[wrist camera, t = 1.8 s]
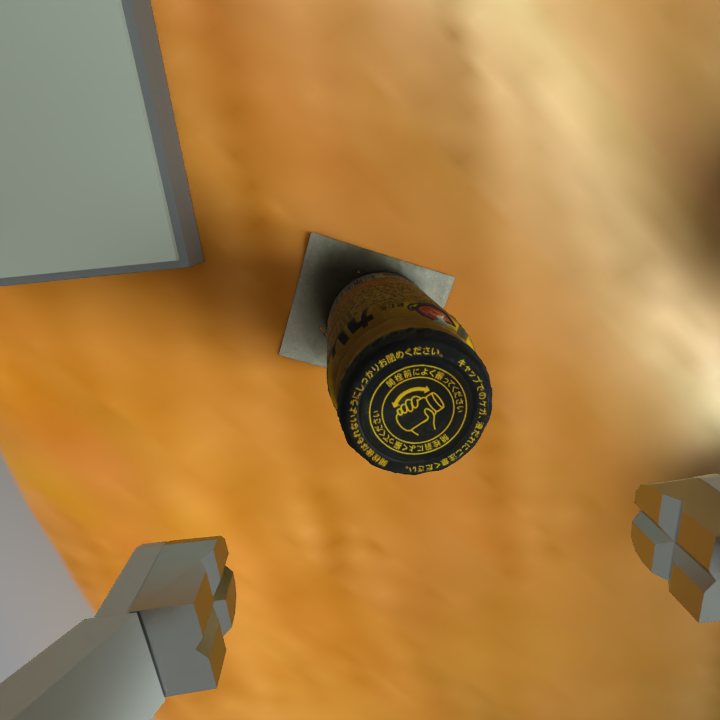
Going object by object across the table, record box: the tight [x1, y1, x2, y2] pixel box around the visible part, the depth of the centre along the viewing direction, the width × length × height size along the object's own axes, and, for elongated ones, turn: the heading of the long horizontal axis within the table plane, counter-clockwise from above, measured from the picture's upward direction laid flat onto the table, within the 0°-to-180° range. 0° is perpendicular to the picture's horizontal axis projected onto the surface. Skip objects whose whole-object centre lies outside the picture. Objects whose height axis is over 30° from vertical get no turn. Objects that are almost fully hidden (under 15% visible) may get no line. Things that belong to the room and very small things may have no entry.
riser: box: [0, 0, 204, 286], centre depth 20 cm, size 12×11×3 cm
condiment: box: [279, 232, 492, 475], centre depth 19 cm, size 7×8×12 cm
